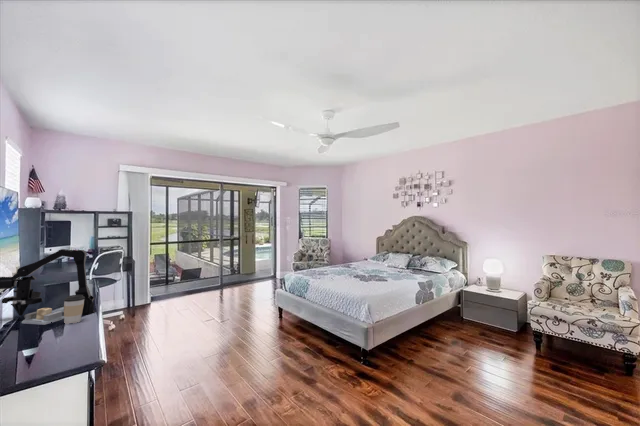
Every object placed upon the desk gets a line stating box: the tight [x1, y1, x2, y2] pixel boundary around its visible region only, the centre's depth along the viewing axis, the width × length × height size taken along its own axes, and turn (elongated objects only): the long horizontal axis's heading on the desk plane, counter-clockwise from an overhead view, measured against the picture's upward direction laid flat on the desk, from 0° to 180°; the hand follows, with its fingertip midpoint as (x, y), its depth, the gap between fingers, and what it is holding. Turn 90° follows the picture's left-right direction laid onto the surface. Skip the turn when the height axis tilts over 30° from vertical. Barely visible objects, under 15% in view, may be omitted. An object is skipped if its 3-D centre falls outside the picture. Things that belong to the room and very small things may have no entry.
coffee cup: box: [63, 294, 85, 325], centre depth 157 cm, size 9×9×15 cm
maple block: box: [36, 307, 53, 320], centre depth 157 cm, size 5×4×6 cm
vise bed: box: [21, 310, 64, 326], centre depth 157 cm, size 14×11×4 cm
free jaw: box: [23, 311, 37, 320], centre depth 158 cm, size 4×8×3 cm, turn 177°
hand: (20, 315), depth 158 cm, fingers closed
